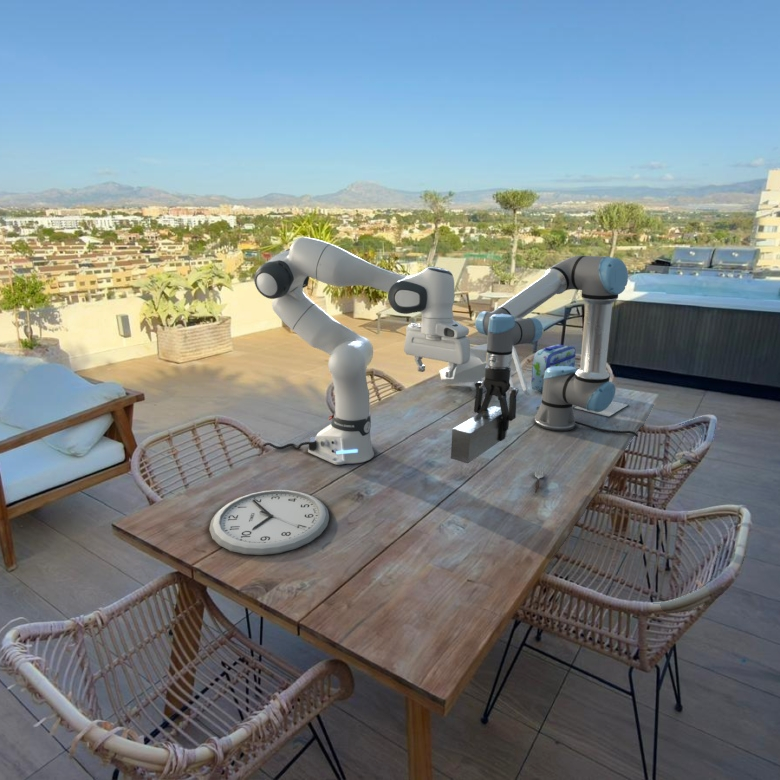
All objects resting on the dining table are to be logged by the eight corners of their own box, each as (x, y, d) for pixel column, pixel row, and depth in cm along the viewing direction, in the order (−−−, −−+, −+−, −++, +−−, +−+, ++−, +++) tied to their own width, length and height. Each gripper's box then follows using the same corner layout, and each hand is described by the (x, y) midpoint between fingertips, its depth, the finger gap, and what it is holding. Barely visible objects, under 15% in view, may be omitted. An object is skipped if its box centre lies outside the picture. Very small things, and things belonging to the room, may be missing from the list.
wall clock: (327, 546, 121) (194, 551, 119) (327, 552, 122) (195, 557, 119) (330, 485, 150) (223, 488, 147) (330, 490, 150) (224, 493, 148)
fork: (530, 493, 151) (531, 487, 150) (535, 470, 165) (536, 465, 164) (539, 495, 150) (540, 489, 149) (544, 472, 164) (544, 466, 163)
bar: (490, 432, 170) (492, 405, 167) (506, 436, 167) (508, 409, 164) (450, 458, 151) (452, 428, 148) (468, 463, 147) (469, 433, 145)
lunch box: (547, 397, 237) (552, 352, 231) (526, 391, 245) (531, 348, 238) (574, 386, 255) (580, 344, 249) (554, 381, 262) (559, 340, 256)
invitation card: (608, 416, 214) (573, 407, 224) (608, 416, 214) (573, 408, 224) (628, 404, 229) (594, 396, 238) (628, 405, 229) (594, 397, 238)
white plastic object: (461, 429, 252) (437, 405, 227) (444, 352, 274) (420, 323, 250) (535, 404, 240) (518, 377, 215) (510, 326, 262) (492, 293, 237)
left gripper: (400, 323, 150) (399, 370, 154) (462, 333, 139) (459, 383, 143) (412, 320, 155) (411, 366, 159) (474, 329, 143) (471, 378, 147)
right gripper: (464, 363, 160) (460, 433, 167) (522, 374, 150) (515, 448, 157) (476, 359, 166) (471, 426, 173) (532, 368, 156) (525, 440, 163)
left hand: (434, 374), depth 151 cm, fingers open, 8 cm apart
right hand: (492, 437), depth 165 cm, fingers closed on bar, 6 cm apart
